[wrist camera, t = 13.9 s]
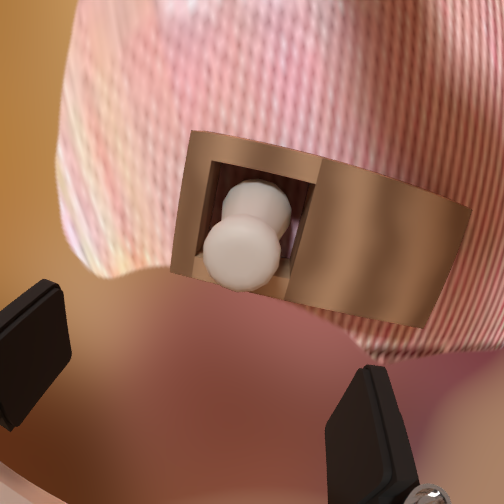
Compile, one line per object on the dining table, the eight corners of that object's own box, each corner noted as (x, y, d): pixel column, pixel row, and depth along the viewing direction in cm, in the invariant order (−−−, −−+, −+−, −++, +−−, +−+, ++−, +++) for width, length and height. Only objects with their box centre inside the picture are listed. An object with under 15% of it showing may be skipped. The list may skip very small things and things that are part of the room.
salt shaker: (214, 206, 29) (163, 259, 17) (257, 161, 27) (233, 182, 15) (260, 249, 30) (242, 327, 18) (304, 207, 28) (317, 263, 16)
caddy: (449, 198, 26) (472, 209, 22) (409, 305, 30) (423, 328, 26) (205, 131, 27) (191, 130, 22) (185, 253, 31) (169, 272, 27)
